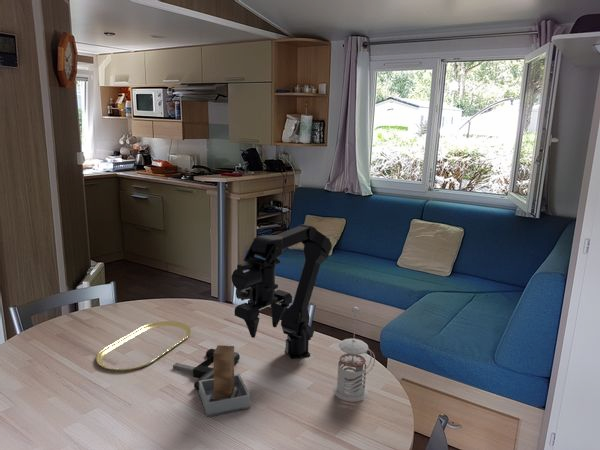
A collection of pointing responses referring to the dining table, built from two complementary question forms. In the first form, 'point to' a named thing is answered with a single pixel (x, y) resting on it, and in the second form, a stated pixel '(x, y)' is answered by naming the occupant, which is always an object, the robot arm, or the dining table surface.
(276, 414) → the dining table surface
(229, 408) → the tray
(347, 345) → the french press
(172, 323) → the gold oval ring
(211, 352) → the door handle
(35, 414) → the dining table surface
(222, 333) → the dining table surface
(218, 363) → the wooden post on base
